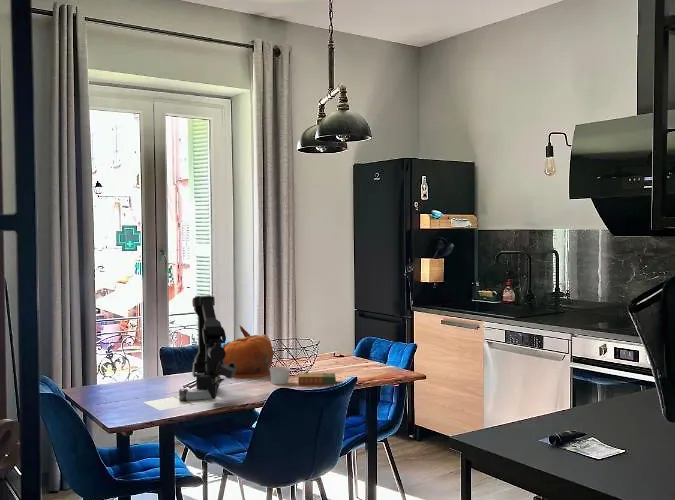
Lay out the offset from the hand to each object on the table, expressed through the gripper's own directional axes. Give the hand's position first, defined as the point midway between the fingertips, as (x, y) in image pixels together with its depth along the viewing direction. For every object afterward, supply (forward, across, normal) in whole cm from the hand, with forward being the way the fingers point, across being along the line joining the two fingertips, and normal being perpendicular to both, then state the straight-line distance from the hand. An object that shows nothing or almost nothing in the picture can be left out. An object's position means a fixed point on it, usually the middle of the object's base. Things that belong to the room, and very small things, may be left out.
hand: (214, 398), depth 257 cm
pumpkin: (+2, +59, +8) cm, 60 cm away
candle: (+2, +41, -13) cm, 43 cm away
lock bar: (+1, +2, +8) cm, 9 cm away
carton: (+3, +43, -29) cm, 52 cm away
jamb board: (+2, 0, +13) cm, 13 cm away
